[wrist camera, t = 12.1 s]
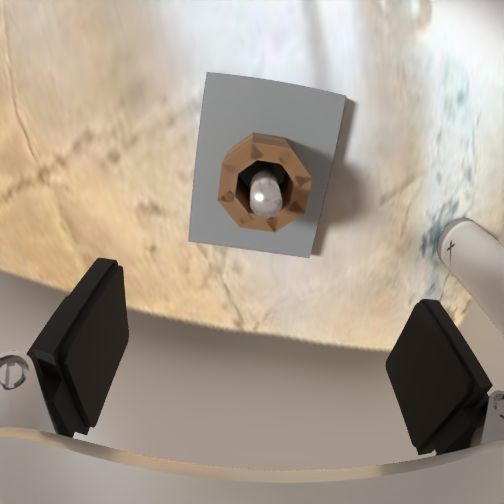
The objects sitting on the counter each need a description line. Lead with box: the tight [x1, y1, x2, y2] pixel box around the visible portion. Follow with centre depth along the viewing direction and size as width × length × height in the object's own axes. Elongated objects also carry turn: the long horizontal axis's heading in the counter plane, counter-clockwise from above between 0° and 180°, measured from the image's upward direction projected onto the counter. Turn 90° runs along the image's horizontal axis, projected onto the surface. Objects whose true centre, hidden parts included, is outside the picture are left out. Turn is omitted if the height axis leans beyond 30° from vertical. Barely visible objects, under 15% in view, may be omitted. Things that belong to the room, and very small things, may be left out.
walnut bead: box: [217, 132, 312, 232], centre depth 25 cm, size 6×6×6 cm
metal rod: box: [250, 160, 282, 218], centre depth 24 cm, size 2×2×9 cm
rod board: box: [188, 72, 346, 258], centre depth 29 cm, size 16×12×2 cm
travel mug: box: [437, 218, 504, 337], centre depth 24 cm, size 6×7×20 cm
